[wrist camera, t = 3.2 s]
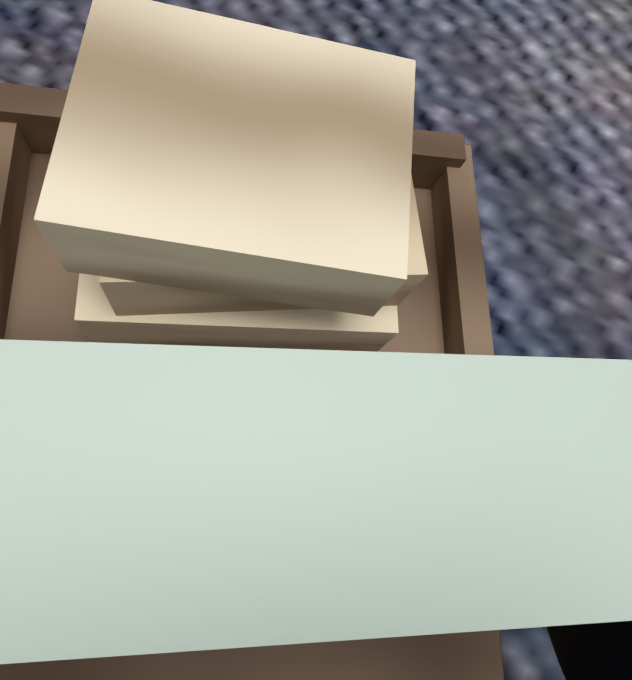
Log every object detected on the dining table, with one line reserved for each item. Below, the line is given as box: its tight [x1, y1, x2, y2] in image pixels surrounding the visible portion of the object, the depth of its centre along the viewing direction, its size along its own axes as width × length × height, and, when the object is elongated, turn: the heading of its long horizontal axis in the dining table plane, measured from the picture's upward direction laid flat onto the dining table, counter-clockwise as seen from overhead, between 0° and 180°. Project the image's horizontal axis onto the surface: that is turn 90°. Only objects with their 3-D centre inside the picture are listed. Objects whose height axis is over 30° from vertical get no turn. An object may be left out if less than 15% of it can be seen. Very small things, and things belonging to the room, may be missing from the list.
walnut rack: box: [0, 83, 504, 680], centre depth 16 cm, size 18×16×4 cm
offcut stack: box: [34, 0, 428, 352], centre depth 15 cm, size 7×9×7 cm
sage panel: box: [0, 339, 632, 664], centre depth 10 cm, size 2×7×13 cm, turn 91°
